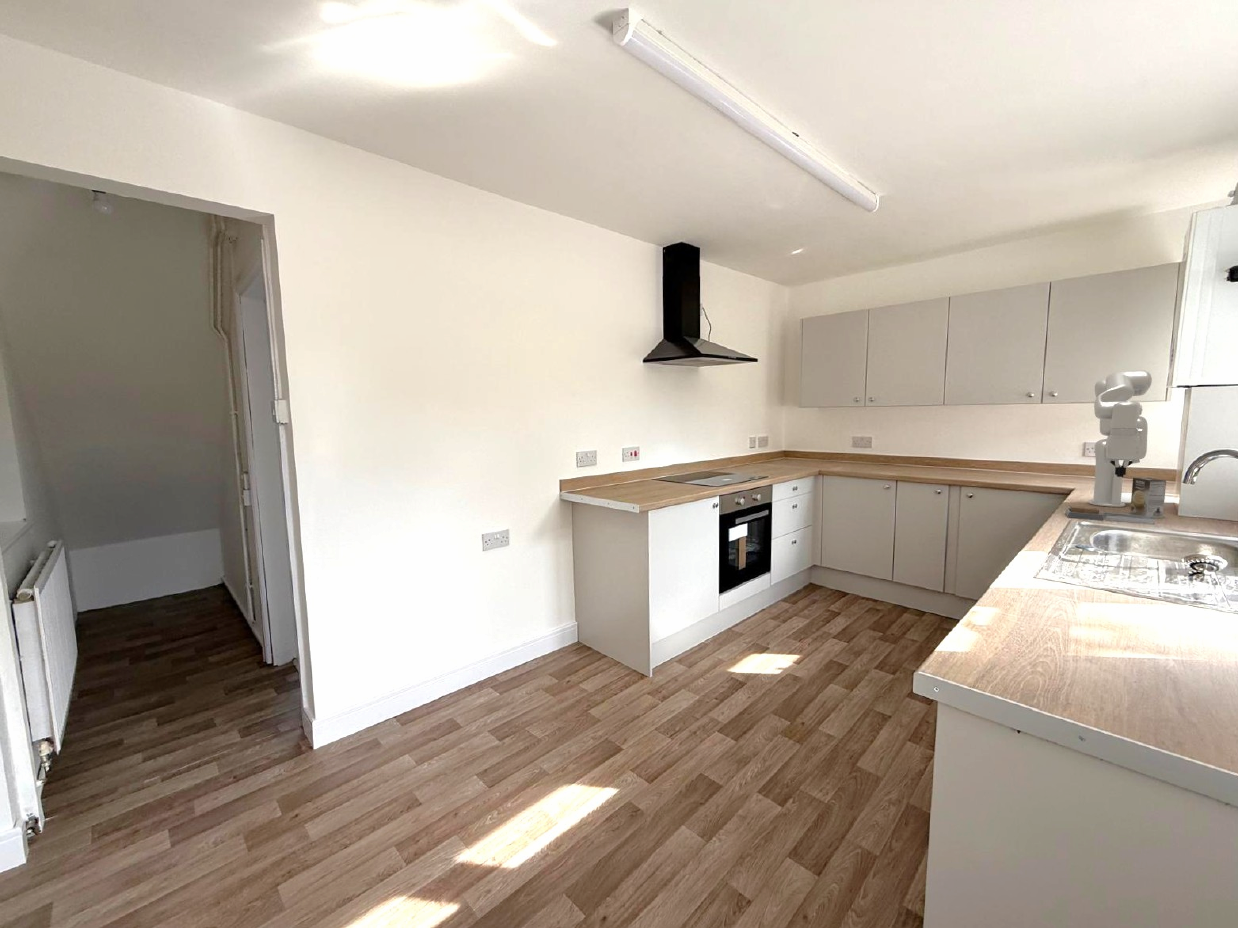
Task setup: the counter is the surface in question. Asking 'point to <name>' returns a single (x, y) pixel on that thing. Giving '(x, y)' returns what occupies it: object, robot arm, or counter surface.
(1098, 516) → the gray u-shaped frame
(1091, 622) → the counter surface
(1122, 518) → the slot rails
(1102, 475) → the robot arm
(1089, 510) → the walnut chip
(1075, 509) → the walnut chip
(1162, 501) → the coffee box
